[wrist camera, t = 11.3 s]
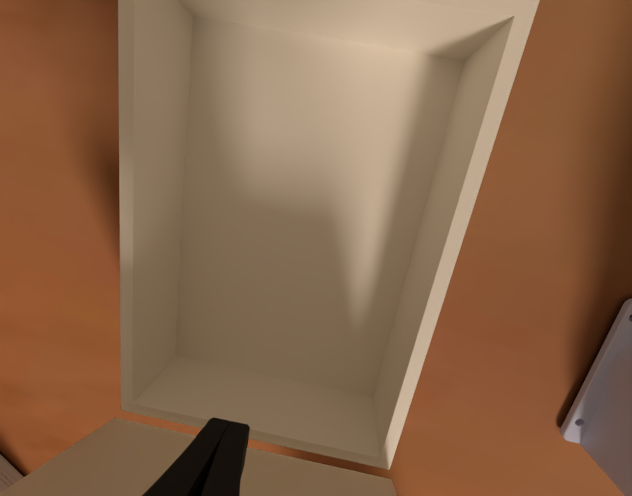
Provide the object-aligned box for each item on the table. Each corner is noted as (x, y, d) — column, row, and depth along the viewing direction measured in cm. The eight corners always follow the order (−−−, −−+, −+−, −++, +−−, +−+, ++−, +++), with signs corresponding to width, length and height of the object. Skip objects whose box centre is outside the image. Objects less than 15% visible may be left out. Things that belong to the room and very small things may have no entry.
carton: (378, 401, 19) (389, 469, 15) (170, 356, 19) (121, 410, 15) (477, 52, 14) (540, -4, 9) (186, 5, 14) (117, -68, 10)
